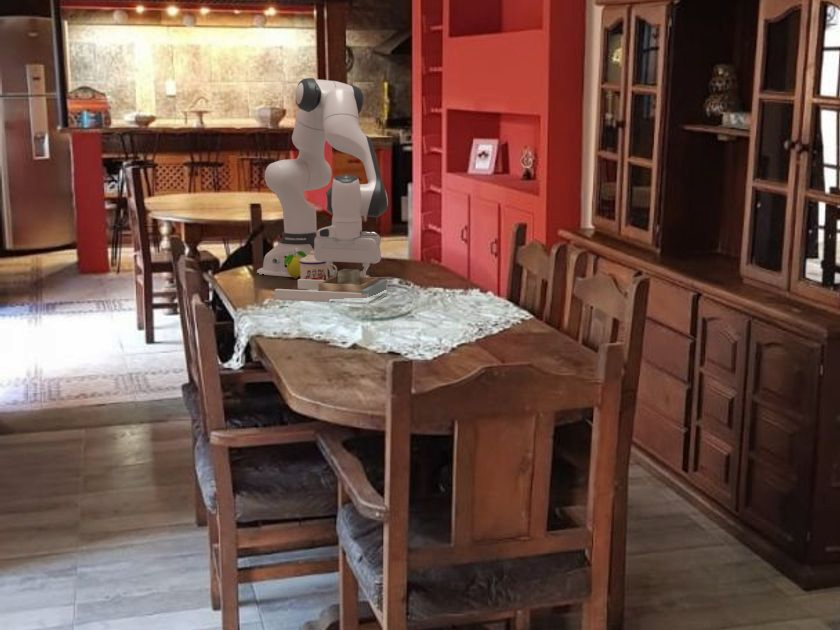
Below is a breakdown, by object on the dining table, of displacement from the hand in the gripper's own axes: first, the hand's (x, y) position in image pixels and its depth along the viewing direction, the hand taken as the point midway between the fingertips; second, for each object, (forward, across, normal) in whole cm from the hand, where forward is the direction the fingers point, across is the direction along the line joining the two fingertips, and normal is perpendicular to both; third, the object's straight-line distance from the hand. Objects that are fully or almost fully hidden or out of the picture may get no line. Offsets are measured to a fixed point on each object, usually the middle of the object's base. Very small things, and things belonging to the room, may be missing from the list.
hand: (347, 276), depth 321 cm
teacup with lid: (+8, +17, -18) cm, 26 cm away
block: (+5, 0, 0) cm, 5 cm away
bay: (+7, +5, 0) cm, 9 cm away
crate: (+6, 0, 0) cm, 6 cm away
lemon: (+8, +30, -31) cm, 44 cm away
